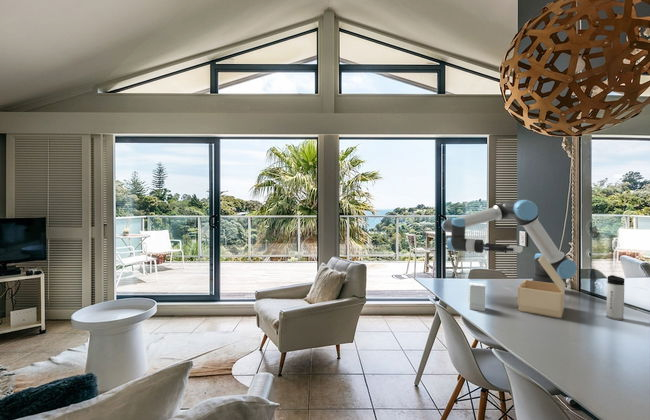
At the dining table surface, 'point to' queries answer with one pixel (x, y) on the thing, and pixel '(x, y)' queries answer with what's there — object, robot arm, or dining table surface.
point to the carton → (540, 298)
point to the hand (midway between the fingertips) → (521, 249)
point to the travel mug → (615, 298)
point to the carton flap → (552, 273)
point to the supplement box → (477, 296)
